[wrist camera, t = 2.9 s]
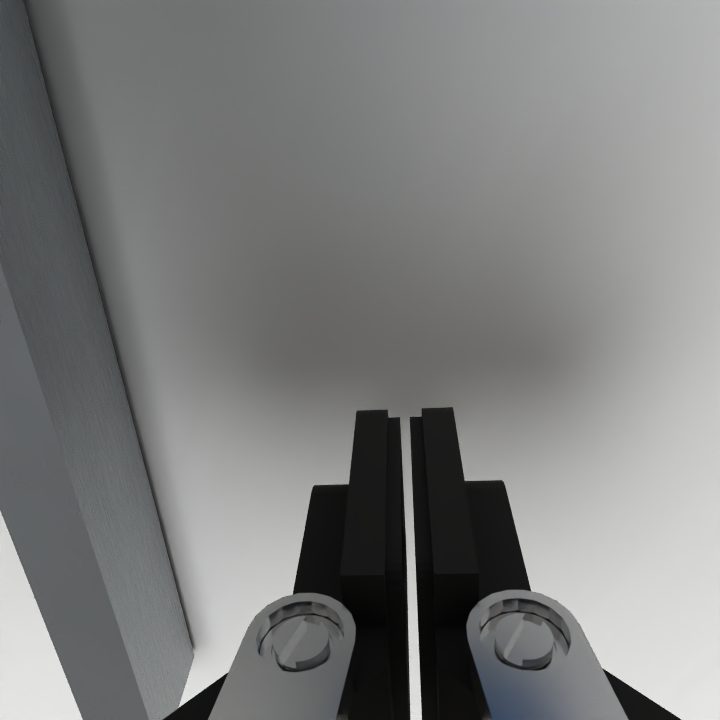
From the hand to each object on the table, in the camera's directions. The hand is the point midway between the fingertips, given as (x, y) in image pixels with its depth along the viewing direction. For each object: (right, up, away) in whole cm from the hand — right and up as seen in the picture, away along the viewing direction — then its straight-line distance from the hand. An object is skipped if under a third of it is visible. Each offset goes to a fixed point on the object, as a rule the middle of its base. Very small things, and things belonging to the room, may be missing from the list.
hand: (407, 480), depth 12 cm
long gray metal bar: (-7, +1, +3) cm, 8 cm away
